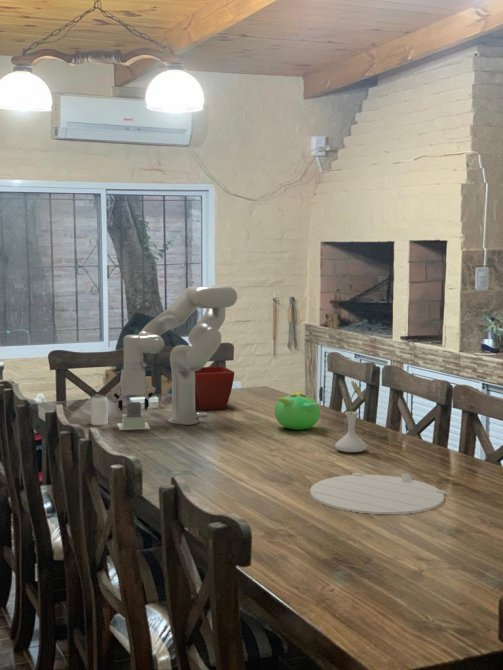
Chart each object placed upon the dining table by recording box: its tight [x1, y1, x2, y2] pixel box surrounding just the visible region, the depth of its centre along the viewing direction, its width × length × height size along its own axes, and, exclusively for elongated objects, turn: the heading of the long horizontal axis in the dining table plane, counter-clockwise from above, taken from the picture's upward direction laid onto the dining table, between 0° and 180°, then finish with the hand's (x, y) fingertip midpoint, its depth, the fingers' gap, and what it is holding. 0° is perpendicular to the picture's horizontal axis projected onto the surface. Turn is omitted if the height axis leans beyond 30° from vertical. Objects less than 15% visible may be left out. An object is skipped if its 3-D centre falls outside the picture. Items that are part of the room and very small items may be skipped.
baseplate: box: [116, 421, 152, 431], centre depth 357 cm, size 12×12×1 cm
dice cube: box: [126, 401, 142, 417], centre depth 356 cm, size 5×5×5 cm
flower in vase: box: [334, 380, 368, 453], centre depth 322 cm, size 13×11×25 cm
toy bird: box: [274, 390, 321, 431], centre depth 357 cm, size 18×17×15 cm
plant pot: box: [194, 366, 235, 411], centre depth 401 cm, size 19×19×17 cm
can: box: [90, 394, 109, 426], centre depth 360 cm, size 6×6×12 cm
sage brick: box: [121, 413, 146, 428], centre depth 356 cm, size 8×8×4 cm
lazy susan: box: [309, 472, 449, 515], centre depth 268 cm, size 40×39×3 cm
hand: (133, 409), depth 356 cm, fingers open, 9 cm apart
